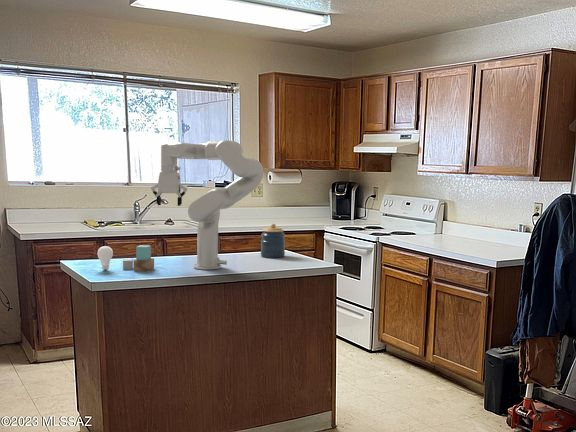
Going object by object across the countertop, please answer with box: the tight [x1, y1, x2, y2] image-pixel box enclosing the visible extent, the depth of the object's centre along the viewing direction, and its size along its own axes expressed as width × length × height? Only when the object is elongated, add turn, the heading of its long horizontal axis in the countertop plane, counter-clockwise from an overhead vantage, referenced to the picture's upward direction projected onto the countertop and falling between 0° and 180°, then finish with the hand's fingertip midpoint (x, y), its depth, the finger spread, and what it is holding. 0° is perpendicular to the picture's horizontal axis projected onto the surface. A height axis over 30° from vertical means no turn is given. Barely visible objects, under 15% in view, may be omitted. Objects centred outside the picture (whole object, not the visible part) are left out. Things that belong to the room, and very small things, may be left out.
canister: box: [260, 223, 286, 259], centre depth 281 cm, size 13×13×18 cm
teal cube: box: [135, 244, 152, 260], centre depth 237 cm, size 5×5×6 cm
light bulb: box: [97, 245, 114, 272], centre depth 234 cm, size 7×7×11 cm
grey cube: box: [122, 258, 134, 270], centre depth 240 cm, size 4×4×4 cm
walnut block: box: [133, 257, 155, 272], centre depth 238 cm, size 7×7×5 cm
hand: (169, 205), depth 251 cm, fingers open, 9 cm apart
